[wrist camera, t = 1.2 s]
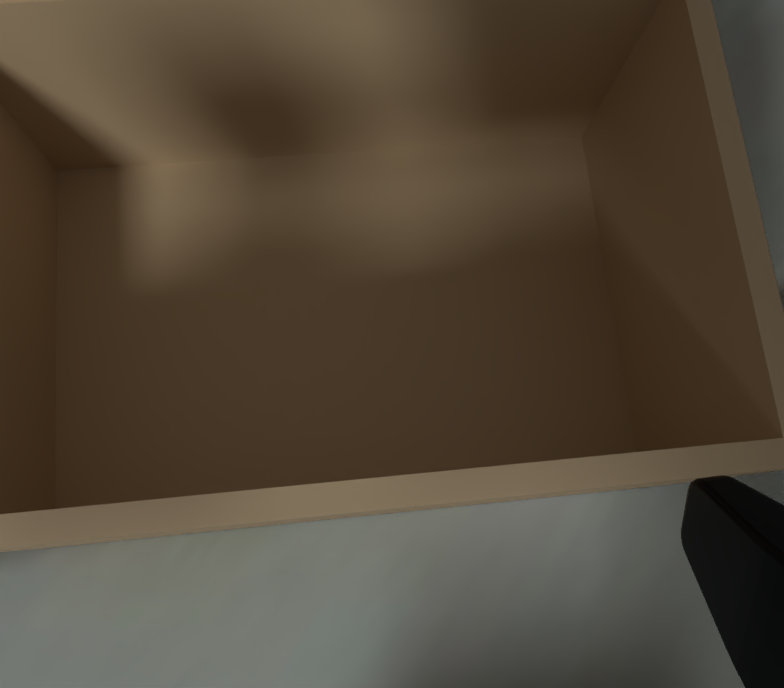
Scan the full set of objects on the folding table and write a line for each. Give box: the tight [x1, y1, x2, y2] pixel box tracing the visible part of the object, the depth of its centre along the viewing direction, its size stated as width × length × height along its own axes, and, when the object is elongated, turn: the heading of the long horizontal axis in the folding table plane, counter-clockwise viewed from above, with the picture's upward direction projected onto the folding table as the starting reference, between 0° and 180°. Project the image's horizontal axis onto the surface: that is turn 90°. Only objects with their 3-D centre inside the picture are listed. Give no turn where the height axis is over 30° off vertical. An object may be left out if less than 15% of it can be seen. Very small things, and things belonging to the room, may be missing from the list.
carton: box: [0, 0, 784, 552], centre depth 19 cm, size 12×18×8 cm, turn 96°
